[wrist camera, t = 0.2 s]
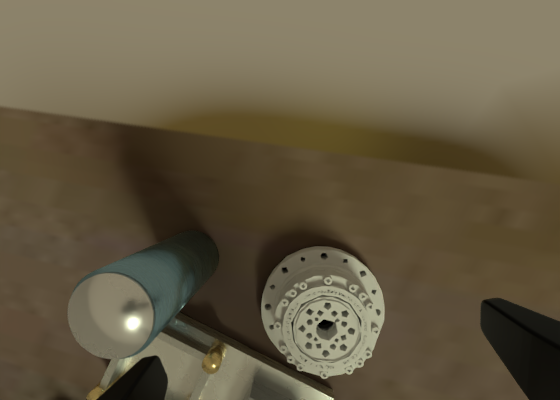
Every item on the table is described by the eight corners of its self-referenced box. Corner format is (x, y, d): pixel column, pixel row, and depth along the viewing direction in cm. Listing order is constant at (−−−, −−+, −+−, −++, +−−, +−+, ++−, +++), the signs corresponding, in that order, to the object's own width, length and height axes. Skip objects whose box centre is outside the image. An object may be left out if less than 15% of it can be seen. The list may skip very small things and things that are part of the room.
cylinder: (205, 291, 23) (133, 379, 13) (158, 268, 24) (49, 336, 13) (227, 245, 23) (172, 296, 13) (179, 221, 23) (85, 253, 13)
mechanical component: (323, 220, 23) (239, 298, 24) (330, 230, 18) (226, 324, 19) (403, 306, 23) (317, 380, 24) (429, 335, 18) (322, 425, 19)
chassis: (289, 469, 24) (288, 510, 21) (109, 376, 24) (83, 403, 21) (332, 389, 23) (338, 420, 20) (146, 295, 24) (125, 311, 21)
